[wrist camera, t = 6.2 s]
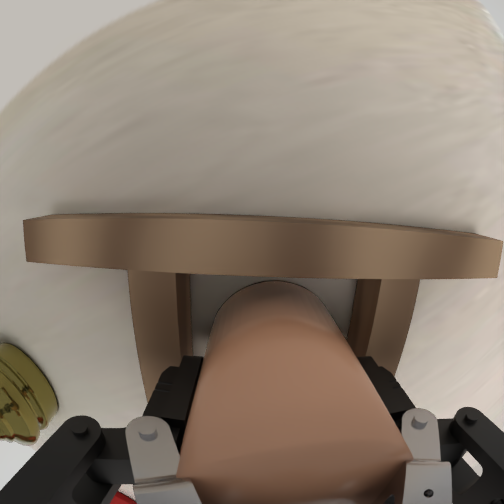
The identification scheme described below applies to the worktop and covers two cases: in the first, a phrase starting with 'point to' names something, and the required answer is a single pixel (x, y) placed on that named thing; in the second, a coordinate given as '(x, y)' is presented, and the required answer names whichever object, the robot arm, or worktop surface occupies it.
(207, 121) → the worktop surface
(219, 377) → the tan paddle shape
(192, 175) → the worktop surface
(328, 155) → the worktop surface
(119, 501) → the canned food
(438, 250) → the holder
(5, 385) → the brass doorknob
